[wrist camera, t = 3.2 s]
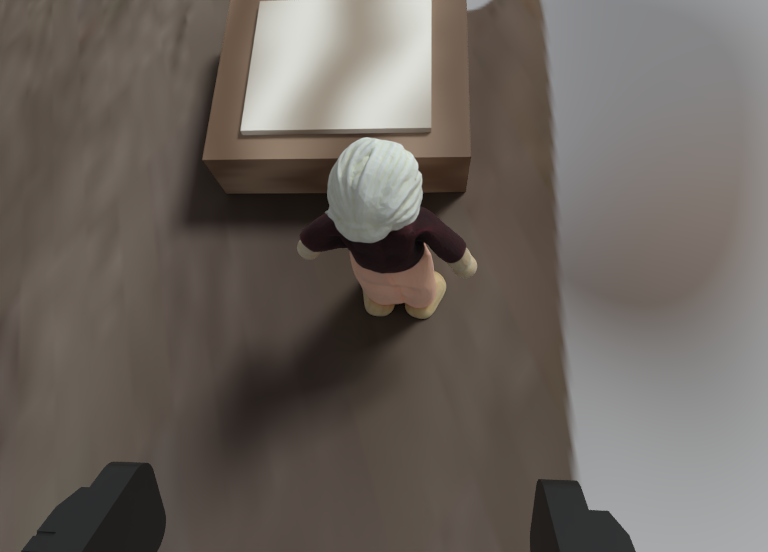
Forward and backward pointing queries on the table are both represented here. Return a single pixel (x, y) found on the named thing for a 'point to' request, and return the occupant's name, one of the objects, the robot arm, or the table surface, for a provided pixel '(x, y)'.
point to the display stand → (338, 91)
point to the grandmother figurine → (386, 229)
